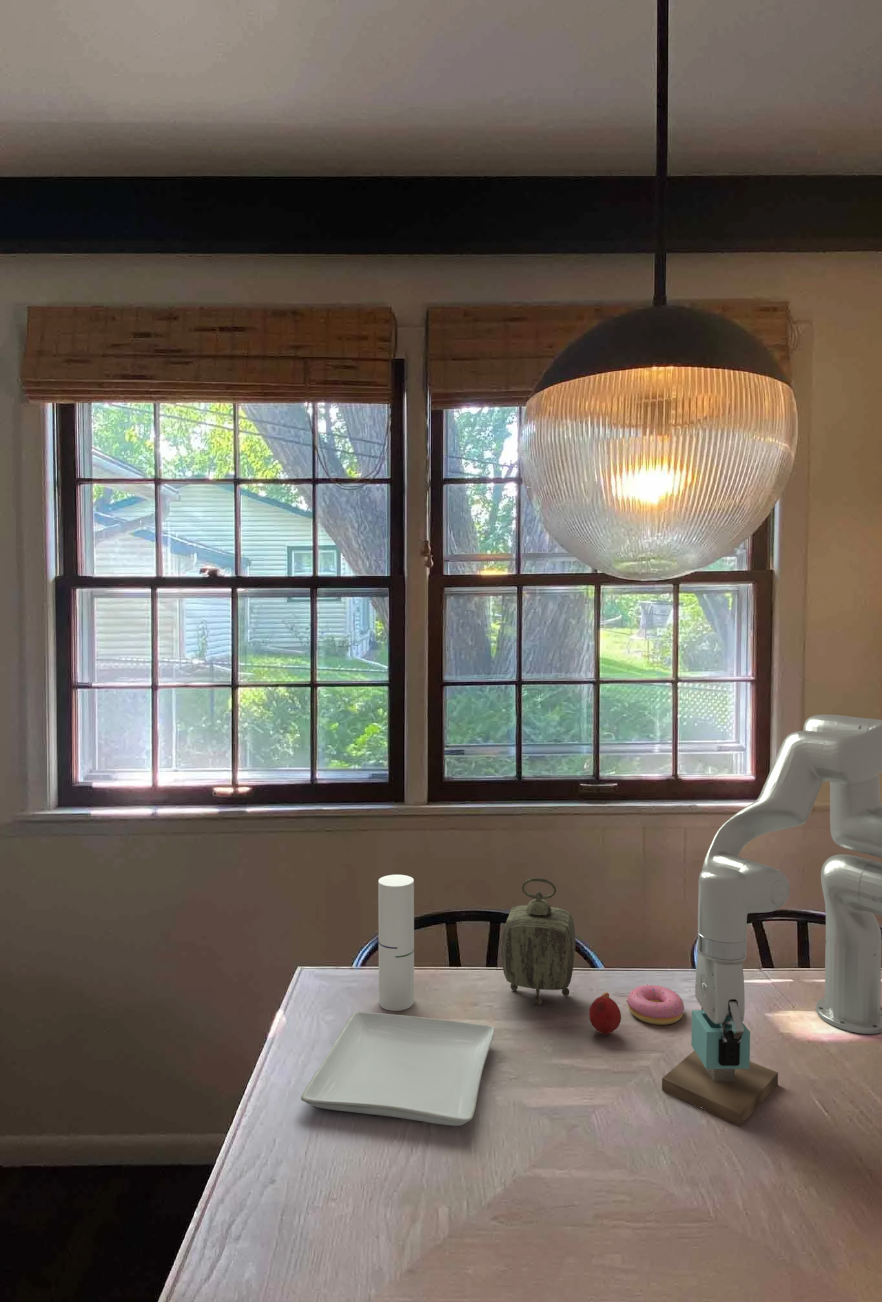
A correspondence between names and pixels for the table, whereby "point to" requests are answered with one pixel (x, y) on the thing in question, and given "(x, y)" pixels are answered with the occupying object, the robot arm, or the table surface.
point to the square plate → (403, 1068)
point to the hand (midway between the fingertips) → (719, 1050)
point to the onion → (604, 1014)
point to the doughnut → (655, 1004)
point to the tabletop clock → (538, 945)
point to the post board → (721, 1087)
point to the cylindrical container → (396, 942)
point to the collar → (715, 1041)
